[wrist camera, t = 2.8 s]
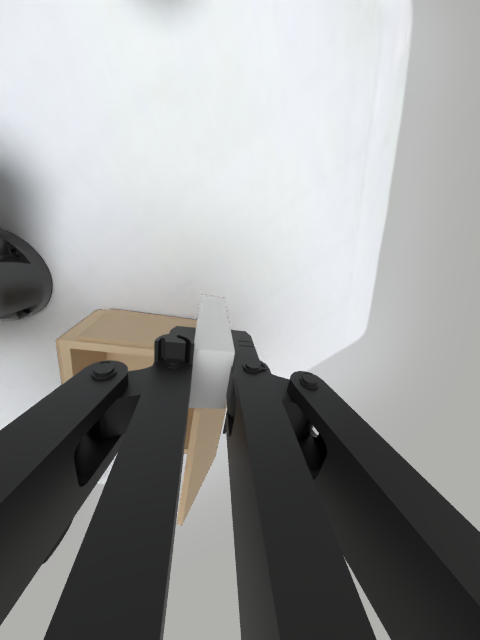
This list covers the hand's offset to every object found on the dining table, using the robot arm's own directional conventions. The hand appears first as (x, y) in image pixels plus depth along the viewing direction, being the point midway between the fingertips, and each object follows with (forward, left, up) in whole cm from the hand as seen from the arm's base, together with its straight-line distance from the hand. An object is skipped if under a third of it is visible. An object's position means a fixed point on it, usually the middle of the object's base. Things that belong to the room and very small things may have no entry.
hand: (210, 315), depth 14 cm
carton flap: (+2, -24, -11) cm, 26 cm away
